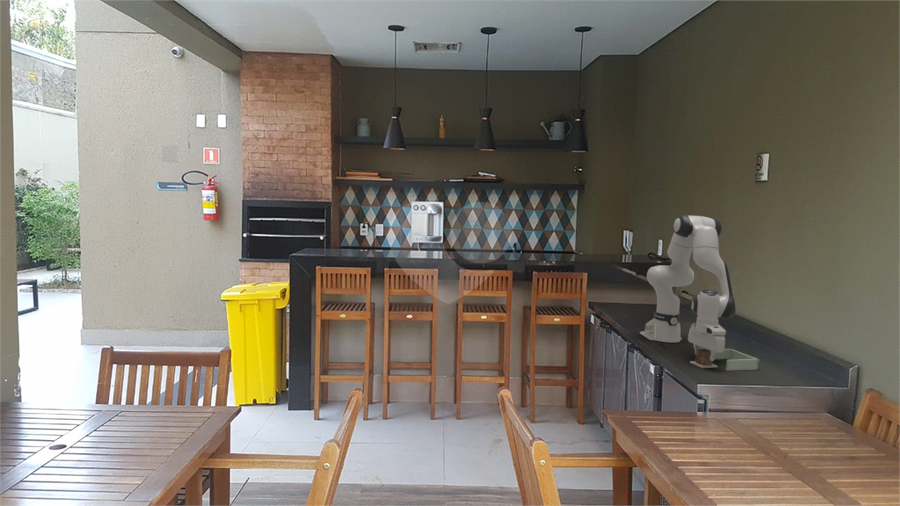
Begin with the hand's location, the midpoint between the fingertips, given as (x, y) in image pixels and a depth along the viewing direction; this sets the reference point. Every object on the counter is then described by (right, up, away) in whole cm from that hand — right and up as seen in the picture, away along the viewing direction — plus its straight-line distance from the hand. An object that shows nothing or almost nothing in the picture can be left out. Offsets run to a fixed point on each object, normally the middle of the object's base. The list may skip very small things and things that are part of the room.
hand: (704, 357), depth 260 cm
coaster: (0, -3, 0) cm, 3 cm away
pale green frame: (+12, -4, +3) cm, 13 cm away
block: (0, -3, 0) cm, 3 cm away
